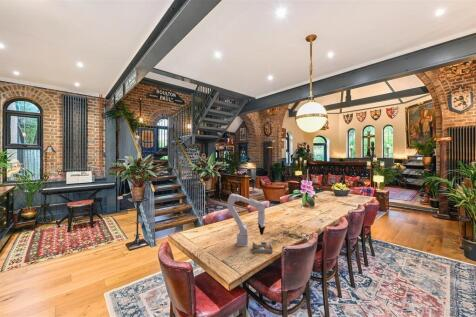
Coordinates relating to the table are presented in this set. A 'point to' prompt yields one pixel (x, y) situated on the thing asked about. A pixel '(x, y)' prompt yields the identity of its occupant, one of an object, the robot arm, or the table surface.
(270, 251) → the slate lane
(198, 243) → the table surface
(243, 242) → the robot arm
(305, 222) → the table surface
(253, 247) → the walnut step ramp
